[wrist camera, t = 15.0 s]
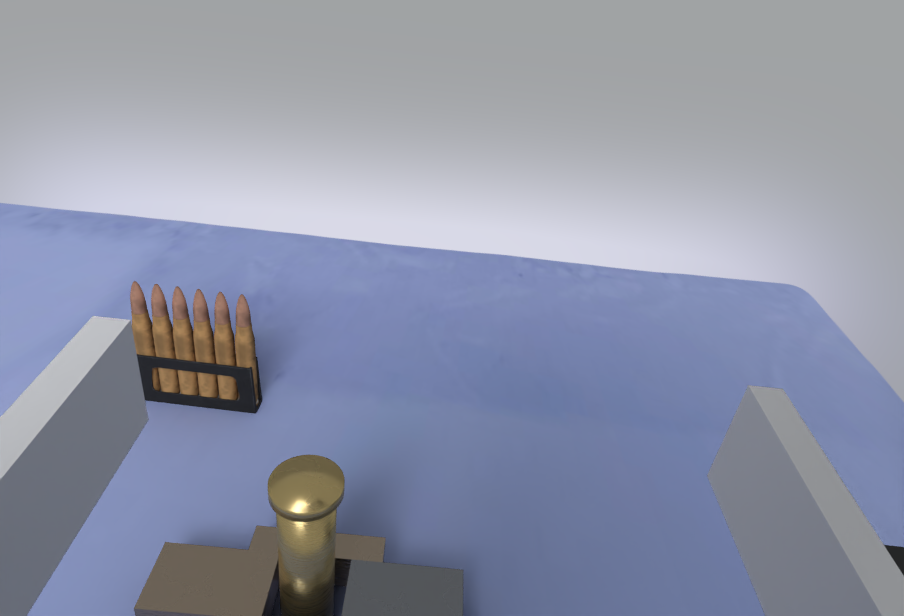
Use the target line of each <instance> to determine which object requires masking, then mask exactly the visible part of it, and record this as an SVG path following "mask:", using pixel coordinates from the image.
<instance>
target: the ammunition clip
mask: <svg viewBox="0 0 904 616" xmlns="http://www.w3.org/2000/svg"><path fill="white" fill-rule="evenodd" d="M130 300H131V309H132V311H131V312H132V331H133V337H134V342H135V348H136V353H137V359H138V365H139V370H140V376H141V381H142V387H143V392H144V398H145V400H147V401H156V402H164V403H172V404H181V405H189V406H197V407H206V408H214V409H222V410H231V411H239V412H247V413H256V412H257V410H258V408H259V406H260V404H261V402H262V396H261V387H260V378H259V370H258V361H257V357H256V353H255V338H254V334H253V331H252V324H251V316H250V310H249V306H248V303H247V301H246V299H245V297H244V295H242V294H241V295H240V297H239V299H238V303H237V308H236V335H235V343H234V334H233V331H232V328H231V321H230V315H229V309H228V305H227V302H226V299H225V297H224V295H223V294H222V292H219V293H218V295H217V298H216V302H215V332H214V336H213V331H212V328H211V325H210V318H209V313H208V307H207V303H206V300H205V298H204V295H203V293H202V292H201V290H200V289H197V291H196V293H195V297H194V303H193V314H194V330H193V329H192V326H191V323H190V319H189V314H188V308H187V304H186V300H185V297H184V295H183V293H182V291H181V289H180V288H179V287H178V286H177V287H176V288H175V290H174V294H173V301H172V309H173V327H172V324H171V322H170V319H169V314H168V310H167V304H166V301H165V297H164V294H163V292H162V290H161V288H160V287H159V285H158V284H155V285H154V287H153V290H152V298H151V305H152V317H153V325H152V322H151V320H150V317H149V314H148V309H147V305H146V301H145V297H144V294H143V292H142V290H141V288H140V286H139V284H138V283H137V282H136V281H134V282H133V284H132V287H131V294H130ZM214 344H215V345H214ZM235 351H236V354H235ZM236 365H237V366H236Z"/></svg>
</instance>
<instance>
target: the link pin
mask: <svg viewBox="0 0 904 616" xmlns="http://www.w3.org/2000/svg"><path fill="white" fill-rule="evenodd" d="M343 496H344V475H343V472H342V470H341V469H340V467H339V466H338V465H337V464H336V463H335V462H333V461H331V460H330V459H328V458H325V457H322V456H317V455H301V456H296V457H293V458H290V459H288V460H286V461H284V462H282V463H281V464H280V465H278V466H277V467H276V468H275V469H274V470H273V472H272V473H271V475H270V477H269V480H268V499H269V503H270V505H271V507H272V509H273V510H274V511H275V512H276V516H277V539H278V562H279V586H280V609H281V616H333V610H334V577H335V543H336V510H337V507H338V506H339V505H340V503H341V501H342V499H343Z"/></svg>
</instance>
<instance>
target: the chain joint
mask: <svg viewBox="0 0 904 616" xmlns="http://www.w3.org/2000/svg"><path fill="white" fill-rule="evenodd" d="M385 540H386V538H383V537H372V536H362V535H351V534H340V533H336V543H335V577H334V585H336V586H347V587H346V593H345V598H344V604H343V609H342V615H341V616H463V570H460V569H450V568H439V567H428V566H417V565H406V564H396V563H385V562H383V561H384V550H385ZM278 590H279V562H278V539H277V527H266V526H256V529H255V532H254V535H253V538H252V541H251V544H250V547H249V550H244V549H234V548H223V547H212V546H201V545H190V544H180V543H169V542H165V544H164V546H163V548H162V550H161V553H160V555H159V557H158V559H157V561H156V563H155V565H154V567H153V569H152V572H151V574H150V576H149V578H148V580H147V582H146V584H145V586H144V588H143V590H142V593H141V595H140V597H139V599H138V601H137V603H136V605H135V607H134V611H135V615H136V616H271V615H272V611H273V608H274V604H275V600H276V597H277V593H278Z"/></svg>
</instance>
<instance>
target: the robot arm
mask: <svg viewBox="0 0 904 616" xmlns="http://www.w3.org/2000/svg"><path fill="white" fill-rule="evenodd" d="M147 421H148V415H147V409H146V404H145V398H144V392H143V387H142V381H141V376H140V370H139V365H138V359H137V353H136V348H135V342H134V337H133V331H132V326H131V320H125V319H116V318H106V317H97V316H93V317H92V318H91V319H90V320H89V321H88V322H87V323H86V324H85V325H84V326H83V328H82V329H81V330H80V331H79V332H78V333H77V334H76V335H75V336H74V337H73V338H72V340H71V341H70V342H69V343H68V344H67V345H66V346H65V347H64V348H63V349H62V350H61V352H60V353H59V354H58V355H57V356H56V357H55V358H54V359H53V360H52V361H51V362H50V364H49V365H48V366H47V367H46V368H45V369H44V370H43V371H42V372H41V373H40V375H39V376H38V377H37V378H36V379H35V380H34V381H33V382H32V383H31V384H30V385H29V387H28V388H27V389H26V390H25V391H24V392H23V393H22V394H21V395H20V396H19V397H18V399H17V400H16V401H15V402H14V403H13V404H12V405H11V406H10V407H9V408H8V410H7V411H6V412H5V413H4V414H3V415H2V416H1V417H0V616H27V614H28V613H29V611H30V609H31V608H32V606H33V605H34V603H35V601H36V600H37V598H38V597H39V595H40V593H41V592H42V590H43V588H44V587H45V585H46V584H47V582H48V580H49V579H50V577H51V576H52V574H53V572H54V571H55V569H56V568H57V566H58V564H59V563H60V561H61V560H62V558H63V556H64V555H65V553H66V552H67V550H68V548H69V547H70V545H71V544H72V542H73V540H74V539H75V537H76V535H77V534H78V532H79V531H80V529H81V527H82V526H83V524H84V523H85V521H86V519H87V518H88V516H89V515H90V513H91V511H92V510H93V508H94V507H95V505H96V503H97V502H98V500H99V499H100V497H101V495H102V494H103V492H104V491H105V489H106V487H107V486H108V484H109V482H110V481H111V479H112V478H113V476H114V474H115V473H116V471H117V470H118V468H119V466H120V465H121V463H122V462H123V460H124V458H125V457H126V455H127V454H128V452H129V450H130V449H131V447H132V446H133V444H134V442H135V441H136V439H137V438H138V436H139V434H140V433H141V431H142V429H143V428H144V426H145V425H146V423H147ZM707 477H708V479H709V481H710V484H711V486H712V489H713V491H714V493H715V496H716V498H717V501H718V503H719V505H720V508H721V510H722V513H723V515H724V517H725V520H726V522H727V525H728V527H729V529H730V532H731V534H732V537H733V539H734V541H735V544H736V546H737V549H738V551H739V553H740V556H741V558H742V561H743V563H744V565H745V568H746V570H747V573H748V575H749V577H750V580H751V582H752V585H753V587H754V589H755V592H756V594H757V597H758V599H759V601H760V604H761V606H762V609H763V611H764V613H765V616H904V547H898V546H888V545H883V543H882V542H881V540H880V538H879V537H878V535H877V534H876V532H875V531H874V529H873V528H872V526H871V525H870V523H869V521H868V520H867V518H866V517H865V515H864V514H863V512H862V511H861V509H860V508H859V506H858V504H857V503H856V501H855V500H854V498H853V497H852V495H851V494H850V492H849V491H848V489H847V487H846V486H845V484H844V483H843V481H842V480H841V478H840V477H839V475H838V474H837V472H836V470H835V469H834V467H833V466H832V464H831V463H830V461H829V460H828V458H827V457H826V455H825V453H824V452H823V450H822V449H821V447H820V446H819V444H818V443H817V441H816V440H815V438H814V436H813V435H812V433H811V432H810V430H809V429H808V427H807V426H806V424H805V423H804V421H803V419H802V418H801V416H800V415H799V413H798V412H797V410H796V409H795V407H794V406H793V404H792V402H791V401H790V399H789V398H788V396H787V395H786V393H785V392H784V390H783V389H778V388H768V387H759V386H749V385H748V387H747V389H746V391H745V394H744V396H743V398H742V400H741V402H740V405H739V407H738V409H737V411H736V413H735V416H734V418H733V420H732V422H731V424H730V427H729V429H728V431H727V433H726V435H725V438H724V440H723V442H722V444H721V446H720V449H719V451H718V453H717V455H716V457H715V459H714V462H713V464H712V466H711V468H710V470H709V473H708V475H707Z"/></svg>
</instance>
